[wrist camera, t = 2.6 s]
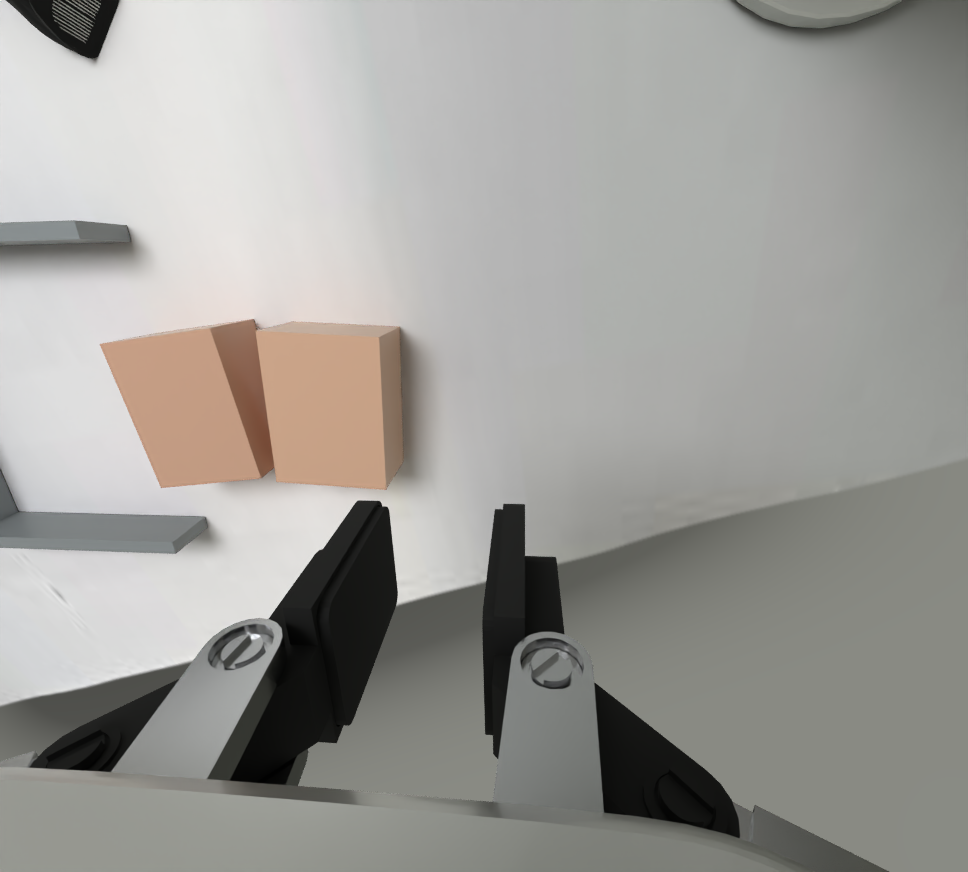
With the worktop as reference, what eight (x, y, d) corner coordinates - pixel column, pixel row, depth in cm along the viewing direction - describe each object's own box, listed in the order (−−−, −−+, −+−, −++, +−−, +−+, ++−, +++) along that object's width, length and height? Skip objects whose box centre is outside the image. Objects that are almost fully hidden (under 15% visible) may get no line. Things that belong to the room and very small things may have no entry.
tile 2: (400, 326, 25) (379, 337, 21) (404, 459, 28) (386, 489, 24) (294, 320, 25) (255, 330, 22) (309, 452, 28) (276, 481, 25)
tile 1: (255, 318, 26) (209, 327, 22) (295, 449, 28) (261, 478, 25) (160, 332, 26) (99, 343, 23) (207, 459, 29) (161, 487, 25)
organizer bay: (126, 225, 24) (74, 220, 21) (207, 527, 31) (175, 553, 28) (-116, 232, 25) (-195, 229, 23) (12, 521, 32) (-38, 546, 29)
